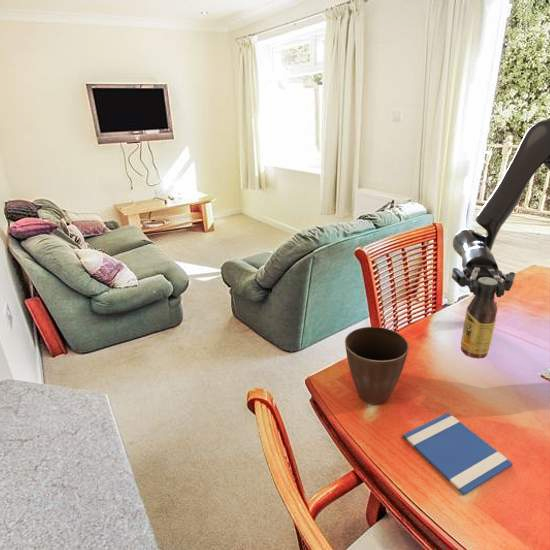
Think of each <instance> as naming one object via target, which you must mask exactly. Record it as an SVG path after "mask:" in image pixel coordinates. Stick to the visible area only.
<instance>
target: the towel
mask: <svg viewBox="0 0 550 550" xmlns="http://www.w3.org/2000/svg"><path fill="white" fill-rule="evenodd" d="M402 437H403V438H404V439H405V441H407V442H408V444H410V445H411V446H412V447H413V448H414V450H416V451H417V452H418V453H419V454H420V455H421V456H422V457H423V458H424V459H425V460H426V461H427V462H429V463H430V464H431V466H433V467H434V468H435V469H436V470H437V471H438V472H439V473H440V474H441V475H442V476H443V477H444V478H445V479H446V480H447V481H448V482H449V483H450V484H451V485H452V486H453V487H454V488H455V489H456V490H457V491H458V492H460V494H462V495H463V496H465V495H467V494H469V493H470V492H472V491H473V490H475V489H477V488H478V487H479V486H481V485H483V484H485V483H486V482H488V481H490V480H491V479H493V478H494V477H496V476H498V475H499V474H501V473H502V472H504V471H505V470H508V468H511V467H512V466H513V462H512V461H511V460H510V459H508V458H507V457H506V456H505V455H503V454H502V453H501V452H500V451H498V450H497V449H495V448H494V447H493V446H491V445H490V444H489V443H488V442H487V441H485V440H484V439H482V438H481V437H480V436H479V435H477V434H476V433H475V432H473V431H472V430H471V429H469V427H467V426H466V425H464V424H463V423H462V422H460V420H458V419H457V418H456V417H455V416H453V415H452V414H451V413H449V412H447V413H445V414H443V415H441V416H438V417H437V418H434V419H433V420H431V421H428V422H427V423H424V424H422V425H420V426H419V427H416V428H414V429H411V430H410V431H408V432H406V433H404V434H403V435H402Z"/></svg>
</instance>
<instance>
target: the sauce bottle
mask: <svg viewBox="0 0 550 550" xmlns="http://www.w3.org/2000/svg"><path fill="white" fill-rule="evenodd" d="M477 283H478V293H477V295H473V298H472V299H471V301H470V303H469V304H468V306H467V307H466V311H465V317H464V323H463V328H462V335H461V339H460V341H461V342H460V350H461V352H462V353H463V355H465V356H466V357H468V358H469V357H470V358H472V359H485V358H486V357H487V356H488V354H489V352H490V348H491V343H492V339H493V336H494V335H493V334H494V330H495V325H496V321H497V319H496V318H497V314H498V305H497V304H496V303H497V302H496V303H495V302H494V298H495V299H496V297H495V296H496V293H495V290H496V288H497V286H498V282H497V280H495V279H493V278H489V277H482V278H479V279H478V281H477ZM496 305H497V306H496Z"/></svg>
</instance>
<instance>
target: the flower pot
mask: <svg viewBox="0 0 550 550" xmlns="http://www.w3.org/2000/svg"><path fill="white" fill-rule="evenodd" d="M344 346H345V352H346V358H347V363H348V367H349V371H350V376H351V378H352V381H353V384H354V386H355V389H356V391H357V394H358V396H359V398H360V399H362V401H364V402H365V403H368V404H370V405H381V404H384V403H386V402H387V401H388V399H389V398H390V396H391V394H392V393H393V391H394V390H395V388H396V385H397V384H398V381H399V380H400V377H401V374H402V372H403V369H404V366H405V363H406V361H407V357H408V353H409V349H410V346H409V342H408V340H407V339H406V338H405V337H404V336H403V335H402V334H400V333H399V332H397V331H394V330H392V329H389V328H386V327H380V326H365V327H360V328H357V329H353V330H352V331H351V332H349V333H348V334H347V335H346V337H345V339H344Z"/></svg>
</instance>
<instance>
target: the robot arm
mask: <svg viewBox="0 0 550 550" xmlns="http://www.w3.org/2000/svg"><path fill="white" fill-rule="evenodd" d="M542 165H544V167H546V168H547V170H548V171H549V172H550V119H543V120H540V121H538V122H536V123H534V124H533V125H531V127H530V128H528V130H527V131H526V132H525V134H524V135H523V138H522V140H521V141H520V144H519V146H518V148H517V149H516V152H515V154H514V156H513V158H512V160H511V162H510V164H509V165H508V168H507V169H506V171H505V173H504V174H503V176H502V178H501V179H500V181H499V183H498V184H497V186H496V187H495V189H494V191H493V192H492V193H491V195H490V196H489V198H488V199H487V200H486V202H485V204H484V205H483V206H482V208H481V209H480V210H479V211H478V213H477V215H476V217H475V222H476V223H477V224H478V226H480V227H481V228H483V229H484V230H485V231H486V232H485V234H484V235H483V234H482V233H480V232H477V231H475V230H473V229H470V228H462V229H460V230H458V231H457V232H456V233H455V234H454V236H453V239H452V247H453V250H454V251H455V252H456V254H457V255H459V257H461V266H462V269H459V268H458V267H452V272H451V279H453V280H454V282H455V283H456V284H457V285H458V286H459V287H461V288H465V287H467V288H468V289H469V292H470V293H472V295H473V296H475V295H477V293H478V283H477V281H478V279H479V278H482V277H489V278H493V279H495V280H497V282H498V286H497V288H496V290H495V296H496V298H502V296H504V295H505V292H509V291H511V288H512V286H513V285H514V283H515V277H516V272H513V271H509V272H508V273H503V271H502V270H500V269H499V266H498V263H497V261H496V259H495V256H494V254H493V253H492V252H491V251H492V250H493V247H494V244H495V242H496V239H497V236H498V233H499V232H500V230H501V228H502V226H503V225H504V223H506V221H507V220H508V218H509V217H510V216H511V215H512V213H513V211H514V210H515V209H516V207H517V205H518V204H519V202H520V200H521V198H522V196H523V194H524V191H525V189H526V188H527V185H528V184H529V181H530V180H531V179H532V177H534V175H535V173H536V172H537V171H538V170H539V168H541V166H542Z"/></svg>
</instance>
